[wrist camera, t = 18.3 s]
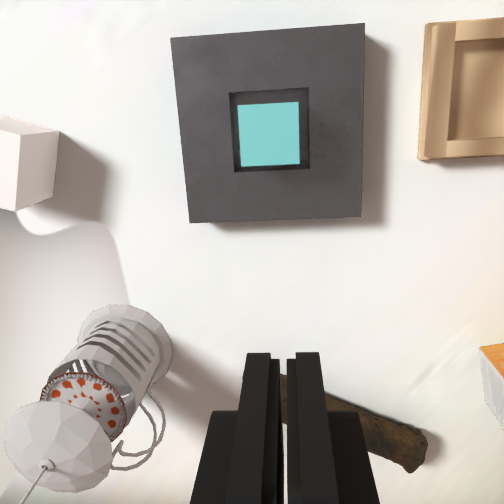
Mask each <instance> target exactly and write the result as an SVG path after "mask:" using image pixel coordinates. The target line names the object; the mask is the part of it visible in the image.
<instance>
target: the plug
mask: <svg viewBox="0 0 504 504" xmlns="http://www.w3.org/2000/svg"><path fill="white" fill-rule="evenodd" d="M238 122H239V138H240V155H241V167H242V166H264V165H286V164H300V158H299V107H298V102H287V103H269V104H252V105H238Z"/></svg>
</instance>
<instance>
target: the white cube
mask: <svg viewBox="0 0 504 504" xmlns="http://www.w3.org/2000/svg"><path fill="white" fill-rule="evenodd" d="M59 134H60V131H58V130H54V129H51V128H47V127H43V126H39V125H36V124H32V123H28V122H25V121H21V120H17V119H13V118H10V117H6V116H2V115H0V208H3V209H7V210H11V211H18V210H20V209H23V208H26V207H28V206H31V205H33V204H36V203H38V202H41V201H44V200H46V199H49V198H51V197H53V191H54V181H55V172H56V162H57V153H58V143H59Z"/></svg>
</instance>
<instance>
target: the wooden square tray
mask: <svg viewBox="0 0 504 504" xmlns="http://www.w3.org/2000/svg"><path fill="white" fill-rule="evenodd" d="M488 156H504V17H503V18H490V19H476V20H463V21H450V22H437V23H428V24H426V25H425V36H424V53H423V70H422V87H421V104H420V121H419V138H418V155H417V159H419V160H427V159H447V158H467V157H488Z"/></svg>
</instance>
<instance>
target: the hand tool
mask: <svg viewBox="0 0 504 504" xmlns="http://www.w3.org/2000/svg"><path fill="white" fill-rule="evenodd" d="M243 376H244V373H243ZM242 379H243V378H242ZM280 381H281V404H282V423H284V424H287V375H283V374H280ZM325 400H326V408H327V411H357V412H358V415H359V418H360V422H361V426H362V431H363V435H364V439H365V443H366V447H367V451H368V452H371V453H373V454H376V455H379V456H381V457H384V458H386V459H388V460H391V461H393V462H395V463H398V464H399V465H401V466H403V468H404V469H405V470H406V471H407V472H408V473H409V474H410V473H413V472H414V471H415V470H416V469H417V468H418V467H419V466H420V465H422V464H423V462H424V460H425V454H426V450H427V447H428V442H427V440H426V438H425V436H424V435H423V434H422V432H421V431H420V430H419V429H418V428H416V429H411V430H410V429H409V428H408V427H407V426H406V425H405V424H403V423H402V424H400V425H398V424H395V423H392V422H389V421H387V420H386V419H384V418H381V417H377V416H374V415H371V414H369V413H367V412H365V411H363V410H361V409H360V408H358V407H357V406H351V405H348V404H346V403H344V402H342V401H338V400H336V399H333V398H331V397H328V396H326V395H325Z"/></svg>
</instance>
